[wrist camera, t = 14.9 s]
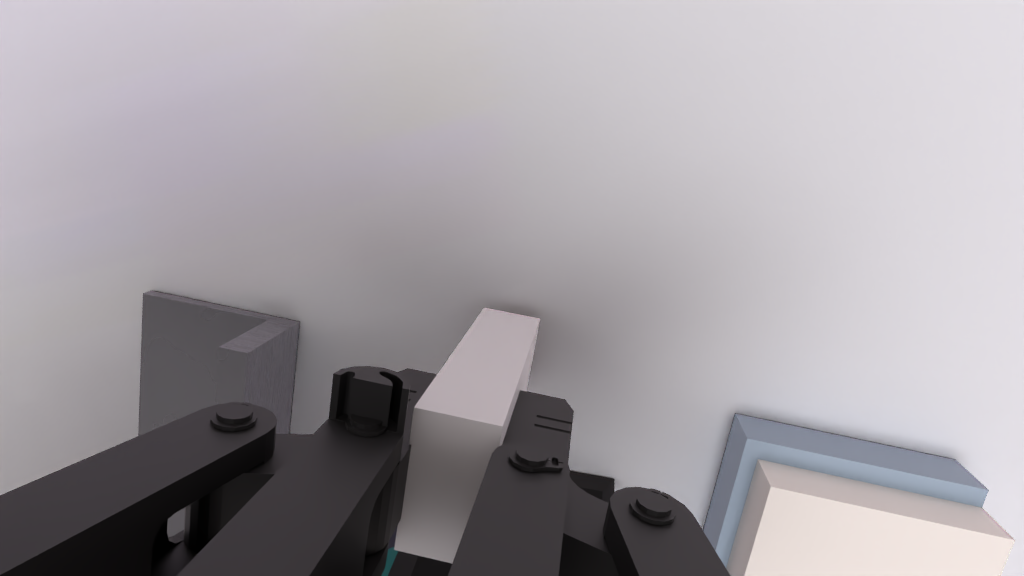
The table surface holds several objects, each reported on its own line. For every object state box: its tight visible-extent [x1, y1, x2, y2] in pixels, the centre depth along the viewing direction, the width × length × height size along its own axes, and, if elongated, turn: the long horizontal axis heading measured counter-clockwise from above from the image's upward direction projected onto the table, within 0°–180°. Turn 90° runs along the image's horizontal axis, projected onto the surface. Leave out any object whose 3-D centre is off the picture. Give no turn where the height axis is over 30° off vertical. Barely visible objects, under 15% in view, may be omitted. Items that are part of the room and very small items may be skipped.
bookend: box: [139, 291, 300, 537], centre depth 20 cm, size 5×14×3 cm, turn 170°
